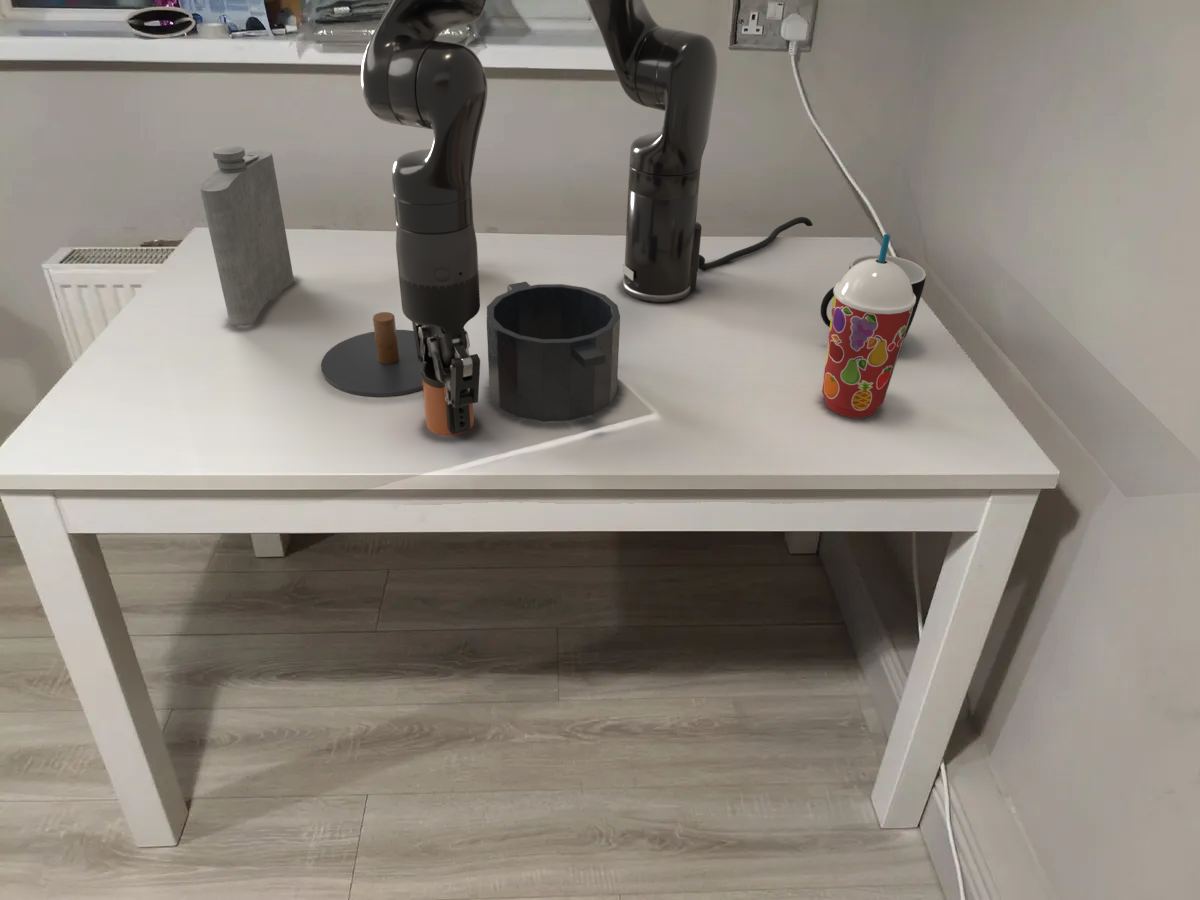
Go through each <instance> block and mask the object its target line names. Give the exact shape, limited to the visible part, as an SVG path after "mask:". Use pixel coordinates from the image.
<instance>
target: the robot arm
mask: <svg viewBox="0 0 1200 900" xmlns="http://www.w3.org/2000/svg"><path fill="white" fill-rule="evenodd" d="M584 1H585V3H586V5H587V7H588V9H589V12H590V13H591V15H592V18H593V19H594V21H595V23H596V26H597V28H598V30H599V32H600V35H601V38H602V40H603V43H604V45H605V46H604V47H605V48H606V51H607V54H608V57H609V58H610V61H611V64H612V67H613V69H614V72H615V75H616V77H617V79H618V82H619V84H620V86H621V88H622V90H623V92H624V93H625V95H626V96H627V97H628V98H629V99H630V100H631V101H632V102H634V103H635V104H638V105H640V106H643V107H646V108H650V109H653V110H658V111H663V112H664V117H663V123H662V127H661V131H659V132H652V133H648V134H644V135H641V136H638V137H637V138H635V139H634V140H632V142H631V144H630V147H629V149H630V150H629V163H628V165H629V166H628V167H629V168H628V185H627V186H628V187H627V205H626V207H627V208H626V227H625V228H626V229H625V247H624V249H625V250H624V251H625V252H624V263H622V266H621V272H622V274H623V279H622V288H623V290H624V292H625V294H627V295H629V296H631V297H633V298H635V299H638V300H642V301H645V302H653V303H669V302H675V301H679V300H682V299H684V298H686V297H687V296H688V295H690V293H691V292H696V291H697V280H698V272H699V270H702V271H706V270H710V269H712V268H716V267H720V266H722V265H724V264H727V263H729V262H731V261H735V260H736V259H739V258H741V257H744V256H746V255H750V254H753V253H754V252H757V251H759V250H761V249H763V248H766V247H767V246H769V245H770V244H772V242H774V241H775V240H776V238H777V237H778V236H779V234H781V233H782V232H784V231H785V230H788V229H790V228H792V227H794V226H796V225H798V224H805V226H807V227H813V226H814V224H813V222H812V221H811V220H810V219H809V218H808V217H805V216H799V217H795V218H793V219H791V220H789V221H787V222H785V223H783V224H781V225H779V226H777V227H776V228H775V229H774V230H773V231H771V233H770V234H769V235H768V236H767V238H764V240H761V241H760V242H757V243H755V244H753V245H750V246H748V247H745V248H742V249H738V250H736V251H733V252H730V253H729V254H726V255H724V256H723V257H720V258H718V259H716V260H714V261H713V260H712V261H711V262H707V263H706V258H705V257H704V256H703V255H702V254H700V249H701V238H702V224H701V223H699V222H698V221H697V213H698V203H699V202H698V201H699V191H700V180H701V169H702V161H703V155H704V152H705V149H706V146H707V143H708V139H709V133H710V127H711V119H712V112H713V105H714V98H715V93H716V84H717V76H718V56H717V51H716V48H715V45H714V43H713V42H712V40H711V39H710V38H708V36H706V35H703V34H700V33H697V32H692V31H686V30H679V29H675V28H670V27H663V26H661V25H659V24H658V22H656V20H655V19H654V17H653V16H652V14H651V13H650V11H649V9H648V6H647V5H646V2H645V0H584ZM486 4H487V0H390V1H389V3H388V5H387V6H386V8H385V11H384V13H383V14H382V16H381V18H380V20H379V22H378V24H377V26H376V28H375V29H374V30H373V33H372V35H371V37H370V39H369V42H368V44H367V45H366V48H365V52H364V55H363V59H362V63H361V69H360V85H361V90H362V96H363V99H364V101H365V103H366V105H367V108H368V109H369V110H370V111H371V113H372V114H373V115H374V116H375V117H376V118H378V119H379V120H380V121H384V122H386V123H389V124H395V125H401V126H406V127H414V128H418V129H419V128H420V129H425V130H426V129H427V130H432V131H433V142H432V145H431V148H429V149H418V150H413V151H409V152H406V153H403V154H402V155H400V156H399V157H398V158H396V160H395V161H394V162H393V165H392V169H391V182H392V184H391V185H392V193H393V205H394V213H395V222H396V228H395V229H396V231H395V232H396V233H395V251H396V253H395V254H396V261H397V269H398V270H397V271H398V281H399V290H400V300H401V311H402V313H403V315H404V316H405V317H406V318H407V319H408V320H409V321H411V324H412V329H413V330H412V331H414V337H415V343H416V349H417V358H418V359H419V362H423V366H424V365H425V364H426V363H428V362H432V361H433V363H434V368H435V374H436V378H437V380H438V381H440V382H442V384H443V389H444V395H445V401H446V412H447V425H448V430H449V431H450V432H451V433H452V434H457V433H461V432H464V433H466V432H468V431H470V429H471V428H470V413H469V404H473V405H474V404H477V403H478V402H479V390H480V373H481V357H480V356H479V354H478V353H473V354H470V351H469V349H470V346H471V343H470V338H469V333H468V332H467V330H465V326H466V325H467V323H469V321H471V320H473V318H475V317H476V316H477V314H478V313H479V311H480V309H481V297H480V295H481V294H480V293H481V292H480V275H479V257H478V254H479V253H478V241H477V235H476V231H475V224H474V211H473V193H472V192H473V191H472V189H473V188H472V177H473V176H472V174H473V169H474V162H475V156H476V153H477V152H476V151H477V145H478V142H479V141H478V140H479V135H480V131H481V127H482V123H483V119H484V115H485V110H486V106H487V100H488V92H489V91H488V90H489V89H488V88H489V87H488V79H487V75H486V71H485V68H484V65H483V63H482V61H481V60H480V58H479V56H478V55H477V54H476V53H475V52H474V51H473V50H472V49H471V48H469V47H468V46H467V45H464V44H461V43H457V42H450V41H441V40H439V41H438V40H437V38H438V37H439V36H440V34H441V33H442V32H444V31H447V30H450V29H452V28H456V27H461V26H465V25H470V24H472V23H475V22H476V21H478V20H479V19H480V18H481V17H482V15H483V13H484V11H485V8H486ZM443 368H450V369H451V371H450V372H446V373H444V371H443ZM450 383H451V385H450ZM465 431H466V432H465ZM461 434H462V433H461ZM457 435H458V434H457Z"/></svg>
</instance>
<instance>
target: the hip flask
mask: <svg viewBox="0 0 1200 900" xmlns="http://www.w3.org/2000/svg"><path fill="white" fill-rule="evenodd" d="M212 156H213V159H215V160H216V166H217V168H218V169H217V170H216V171H214V172H213V173H212V174H211V175H210V176H208V177H207V178H206V179H205V180H204V181H203V183H202V184H201V185H200V187H199V191H200V196H201V201H202V205H203V210H204V214H205V219H206V222H207V227H208V232H209V235H210V240H211V246H212V249H213V254H214V258H215V263H216V268H217V272H218V277H219V281H220V286H221V290H222V294H223V299H224V303H225V308H226V312H227V317H228V322H229V324H230V325H232V326H237V327H242V326H249V325H251V324H253V323H255V322H256V321H257V319H258V316H259V314H260V312H261V311H262V309H263V308H264V306H265V305H266V304H267V303H269V302H273V301H274V299H276V298H277V297H278V296H279V295H280V294H281V293H282V292H284V291H285V290H286V289H287V288H289V287H290V286H292V285H294V283H295V278H294V272H293V266H292V261H291V255H290V249H289V244H288V243H289V242H288V238H287V231H286V226H285V221H284V215H283V209H282V208H283V207H282V204H281V197H280V192H279V186H278V180H277V175H276V169H275V163H274V157H273V153H272V152H271V151H268V150H253V151H249V152H246V150H245V148H244V147H243V146H242V145H241V146H240V145H234V144H233V145H230V144H229V145H221V146H218V147H215V148H213V149H212Z"/></svg>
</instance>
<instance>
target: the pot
mask: <svg viewBox="0 0 1200 900" xmlns="http://www.w3.org/2000/svg"><path fill="white" fill-rule="evenodd" d="M506 286H507V287H506V289H507V291H506V292H503V293H501V294H500V295H497V296H496V297H494V299H493V300H492V301H491V302H489V304H488V305H487V306H486V316H485V317H486V318H485V319H486V333H487V334H486V337H487V339H486V340H487V341H486V342H487V360H488V361H487V362H488V363H487V364H488V383H489V385H488V386H489V396H490V397H491V398H492V400H493V402H495V404H496V405H497V406H498V407H499V408H500V409H502V410H505V411H506V412H509V414H512V415H514V416H516V417H519V418H524V419H529V420H535V421H538V422H539V421H540V422H570V421H574V420H577V419H581V418H587V417H590V416H593V415H595V414H597V413H599V412H600V411H602V410H603V409H605V408H606V407H608V406H610V405H611V403H612V402H613V400H614V398H615V396H616V395H617V393H618V377H619V376H618V375H619V373H618V372H619V371H618V370H619V354H620V353H619V352H620V351H619V350H620V333H621V331H620V330H621V314H620V311H619V307H618V304H617V303H615V302H614V301H613V300H612V299H610V298H609V297H608V296H607V295H606V294H603V293H600V292H598V291H596V290H593V289H590V288H587V287H583V286H577V285H570V284H563V283H557V284H556V283H555V284H554V283H551V284H550V283H549V284H546V283H545V284H542V283H541V284H540V283H539V284H533V285H532V284H529V283H528V282H527V281H522V282H516V283H510V284H507V285H506Z"/></svg>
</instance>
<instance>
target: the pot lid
mask: <svg viewBox="0 0 1200 900" xmlns="http://www.w3.org/2000/svg"><path fill="white" fill-rule="evenodd" d="M372 321H373V322H372V323H373V330H374V331H370V332H366V333H365V332H364V333H361V334H357V335H354V336H352V337H349V338H347V339H345V340H342V341H340V342H339V343H337V344H335V345H334V346H333V347H330V349H329V350H328V351H327V352H326V353H325V354H324V356H323V358H322V359H321V363H320V367H321V374H322V376H323V378H324V379H325V381H326V382H327V383H329V384H330V385H331V386H332V387H334V388H336V389H338V390H340V391H342V392H345V393H348V394H352V395H357V396H361V397H362V396H363V397H373V398H374V397H379V398H381V397H382V398H383V397H396V396H403V395H408V394H412V393H416V392H419V391H423V384H422V373H421V370H422V367H423V362H419V359H418V358H417V349H416V343H415V337H414V330H412V329H411V330H409V329H406V330H405V329H397V327H396V318H395V314H393V313H391V312H387V311H381V312H378V313H375V314H373V317H372Z"/></svg>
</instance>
